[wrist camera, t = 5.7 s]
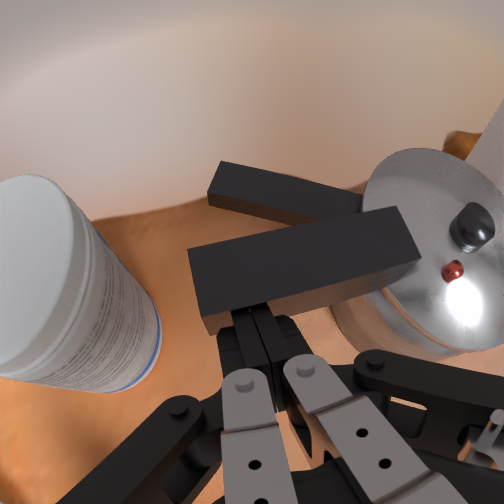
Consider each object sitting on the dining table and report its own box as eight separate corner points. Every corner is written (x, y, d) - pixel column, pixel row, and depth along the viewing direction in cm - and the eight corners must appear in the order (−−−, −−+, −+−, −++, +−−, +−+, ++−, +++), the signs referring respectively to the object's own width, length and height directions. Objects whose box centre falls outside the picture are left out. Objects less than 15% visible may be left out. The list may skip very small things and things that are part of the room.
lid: (468, 151, 22) (488, 121, 18) (548, 305, 16) (581, 287, 12) (180, 191, 18) (170, 145, 15) (242, 455, 12) (242, 474, 9)
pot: (483, 250, 28) (533, 205, 20) (483, 380, 22) (552, 361, 14) (243, 180, 30) (245, 107, 22) (194, 321, 24) (171, 278, 16)
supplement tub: (167, 280, 26) (103, 155, 12) (165, 398, 21) (66, 389, 8) (66, 282, 25) (-36, 183, 12) (56, 388, 21) (-80, 352, 8)
